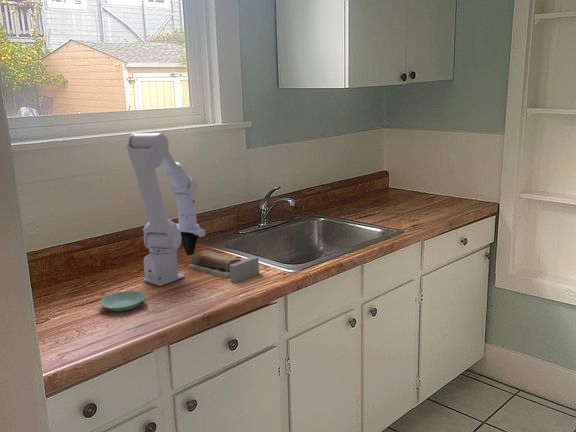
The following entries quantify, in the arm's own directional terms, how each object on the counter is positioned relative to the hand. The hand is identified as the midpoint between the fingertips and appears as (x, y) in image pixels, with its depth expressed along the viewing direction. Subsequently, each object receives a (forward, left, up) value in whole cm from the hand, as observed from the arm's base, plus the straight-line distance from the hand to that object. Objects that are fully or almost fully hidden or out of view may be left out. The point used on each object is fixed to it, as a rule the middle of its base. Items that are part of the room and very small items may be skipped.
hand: (190, 254), depth 190 cm
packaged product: (0, -13, -3) cm, 13 cm away
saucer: (-35, -15, -3) cm, 38 cm away
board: (0, -25, -2) cm, 26 cm away
